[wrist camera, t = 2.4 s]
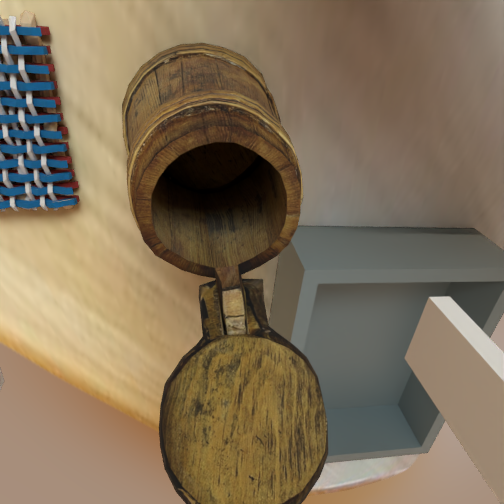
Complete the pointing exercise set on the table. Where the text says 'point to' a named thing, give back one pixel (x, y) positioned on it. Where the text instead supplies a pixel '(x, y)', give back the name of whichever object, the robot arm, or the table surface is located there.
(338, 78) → the table surface
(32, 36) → the woven mat
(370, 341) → the bin
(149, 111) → the wooden mug
